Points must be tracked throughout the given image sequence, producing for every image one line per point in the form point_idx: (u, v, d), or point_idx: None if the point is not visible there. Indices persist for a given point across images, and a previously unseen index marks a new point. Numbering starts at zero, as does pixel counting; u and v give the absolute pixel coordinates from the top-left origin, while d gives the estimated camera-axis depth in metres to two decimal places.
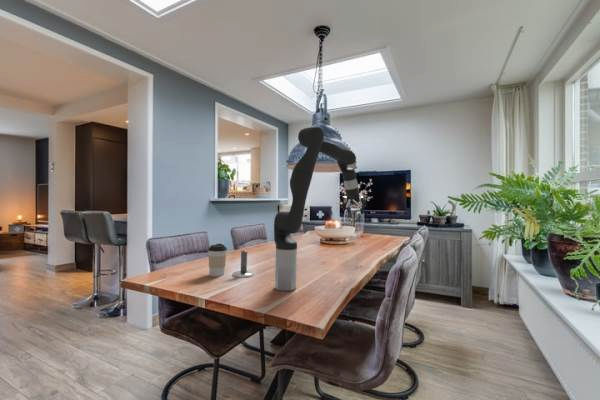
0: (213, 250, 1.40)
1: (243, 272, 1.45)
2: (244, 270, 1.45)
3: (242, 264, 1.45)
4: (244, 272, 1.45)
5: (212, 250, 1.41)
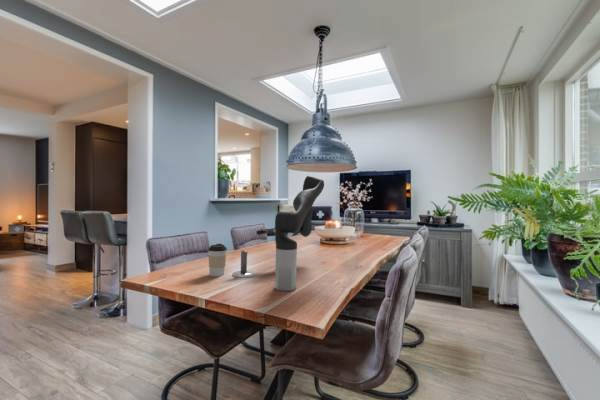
0: (213, 250, 1.40)
1: (243, 272, 1.45)
2: (244, 270, 1.45)
3: (242, 264, 1.45)
4: (244, 272, 1.45)
5: (212, 250, 1.41)
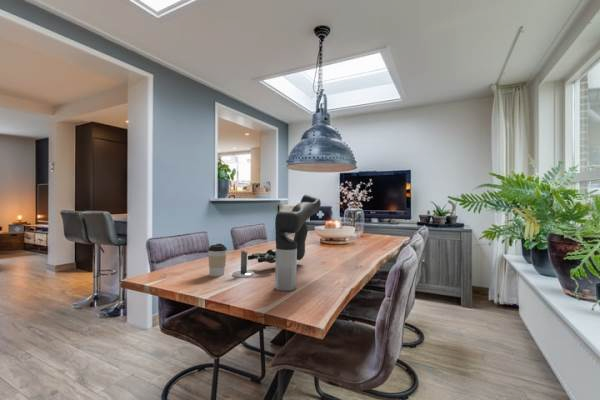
0: (213, 250, 1.40)
1: (243, 272, 1.45)
2: (244, 270, 1.45)
3: (242, 264, 1.45)
4: (244, 272, 1.45)
5: (212, 250, 1.41)
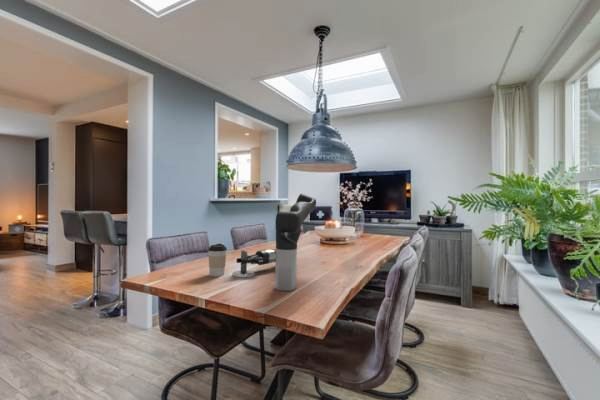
0: (213, 250, 1.40)
1: (243, 272, 1.45)
2: (244, 270, 1.45)
3: (242, 264, 1.45)
4: (244, 272, 1.45)
5: (212, 250, 1.41)
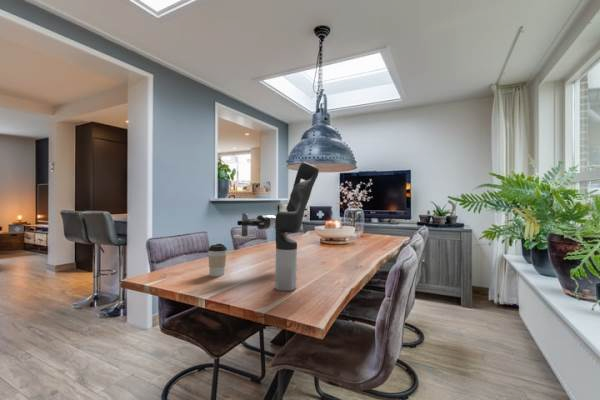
0: (213, 250, 1.40)
1: (244, 234, 1.45)
2: (245, 232, 1.45)
3: (243, 226, 1.45)
4: (245, 234, 1.45)
5: (212, 250, 1.41)
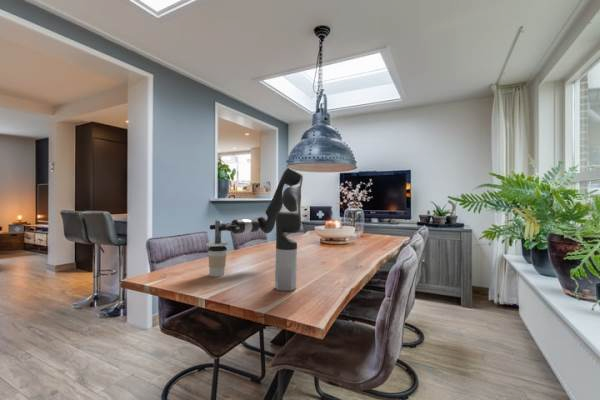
0: (213, 250, 1.40)
1: (217, 242, 1.43)
2: (218, 240, 1.43)
3: (216, 234, 1.43)
4: (218, 242, 1.43)
5: (212, 250, 1.41)
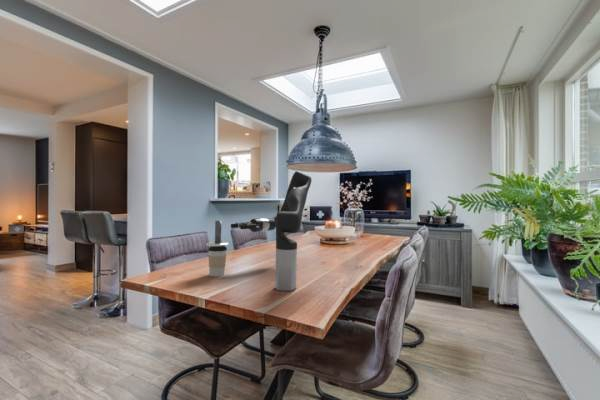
0: (213, 250, 1.40)
1: (217, 242, 1.43)
2: (218, 240, 1.43)
3: (216, 234, 1.43)
4: (218, 242, 1.43)
5: (212, 250, 1.41)
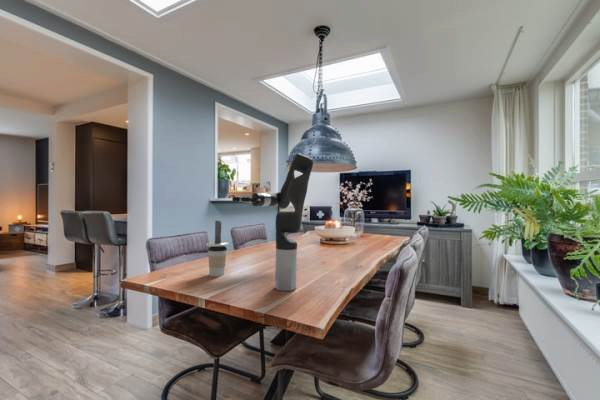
0: (213, 250, 1.40)
1: (217, 242, 1.43)
2: (218, 240, 1.43)
3: (216, 234, 1.43)
4: (218, 242, 1.43)
5: (212, 250, 1.41)
